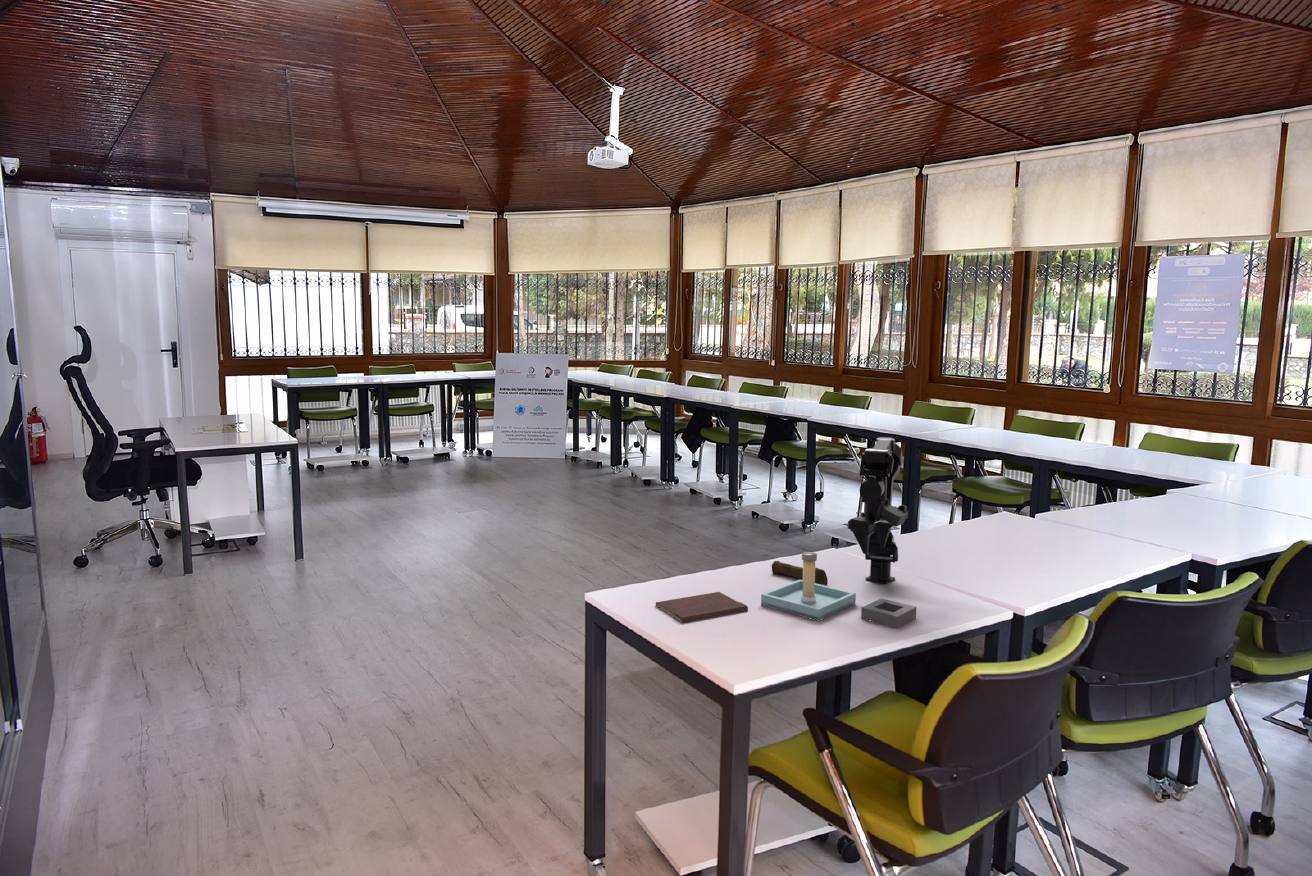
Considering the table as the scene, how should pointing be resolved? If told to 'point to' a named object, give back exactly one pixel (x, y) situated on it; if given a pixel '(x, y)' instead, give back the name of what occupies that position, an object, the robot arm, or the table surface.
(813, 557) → the fuse
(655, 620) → the table surface
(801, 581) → the parts tray
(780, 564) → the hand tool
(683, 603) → the notebook
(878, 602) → the socket block
